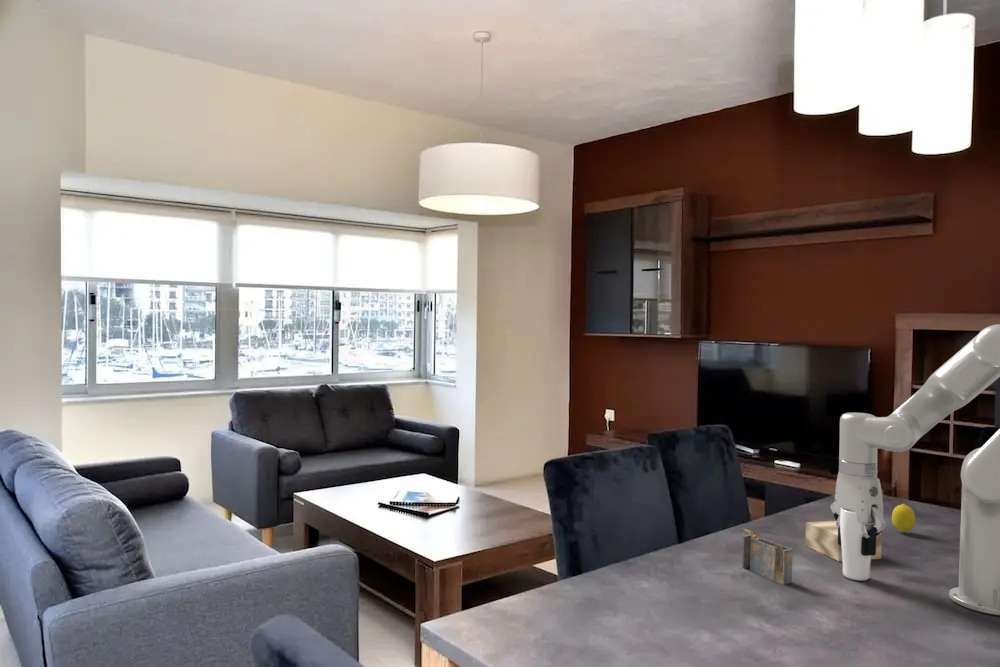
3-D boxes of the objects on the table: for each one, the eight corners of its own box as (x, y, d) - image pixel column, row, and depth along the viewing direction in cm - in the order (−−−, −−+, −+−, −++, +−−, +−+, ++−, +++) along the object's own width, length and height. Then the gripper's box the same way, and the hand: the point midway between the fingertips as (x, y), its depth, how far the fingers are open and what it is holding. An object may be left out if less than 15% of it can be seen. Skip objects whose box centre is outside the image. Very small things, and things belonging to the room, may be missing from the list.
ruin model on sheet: (740, 570, 160) (741, 527, 160) (750, 568, 161) (751, 525, 161) (782, 586, 150) (783, 541, 150) (791, 584, 151) (792, 539, 151)
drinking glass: (877, 584, 151) (878, 514, 151) (843, 581, 153) (845, 512, 152) (867, 573, 158) (869, 506, 158) (835, 570, 159) (836, 505, 159)
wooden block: (881, 558, 169) (882, 533, 169) (838, 561, 166) (839, 536, 166) (846, 543, 180) (846, 520, 180) (805, 545, 178) (805, 522, 178)
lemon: (886, 531, 193) (887, 502, 193) (900, 529, 195) (901, 500, 195) (905, 536, 188) (906, 507, 188) (919, 534, 190) (920, 505, 190)
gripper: (902, 476, 148) (901, 561, 148) (844, 461, 164) (843, 537, 164) (872, 477, 146) (870, 563, 146) (816, 462, 163) (815, 539, 163)
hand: (856, 549), depth 155 cm, fingers closed on drinking glass, 6 cm apart
